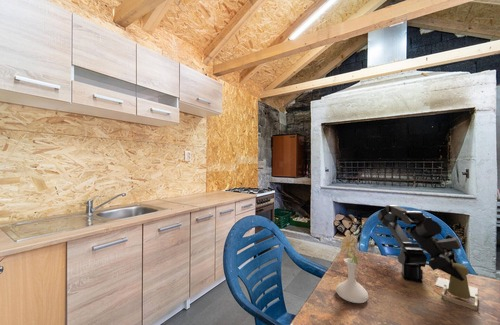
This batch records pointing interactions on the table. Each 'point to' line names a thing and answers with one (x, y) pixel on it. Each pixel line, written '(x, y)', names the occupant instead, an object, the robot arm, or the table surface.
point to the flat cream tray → (459, 300)
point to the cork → (459, 283)
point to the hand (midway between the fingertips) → (464, 277)
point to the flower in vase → (351, 274)
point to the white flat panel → (442, 282)
